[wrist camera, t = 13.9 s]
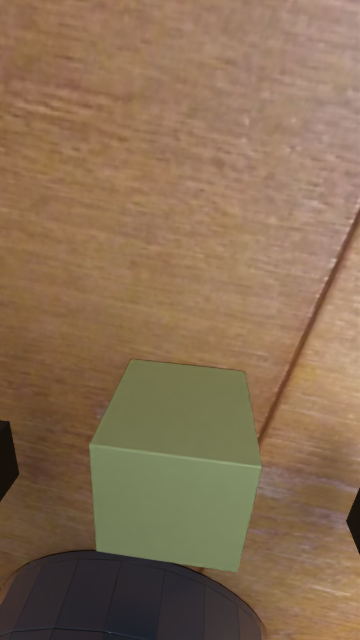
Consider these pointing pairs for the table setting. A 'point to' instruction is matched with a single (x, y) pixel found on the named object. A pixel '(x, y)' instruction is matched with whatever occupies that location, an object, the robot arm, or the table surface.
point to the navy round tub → (120, 602)
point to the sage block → (176, 466)
